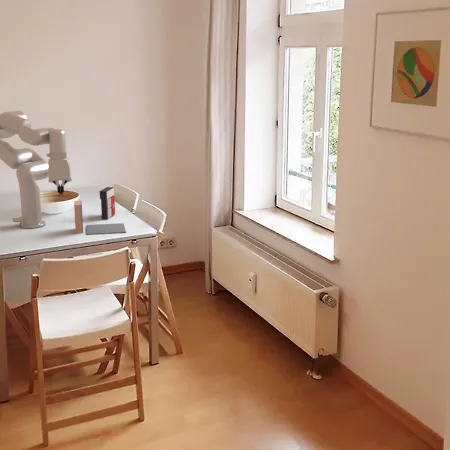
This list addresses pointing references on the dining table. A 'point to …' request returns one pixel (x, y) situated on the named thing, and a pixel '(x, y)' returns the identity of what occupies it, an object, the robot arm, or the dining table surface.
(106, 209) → the grey red upright box
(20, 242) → the dining table surface
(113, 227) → the mat
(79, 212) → the sponge
